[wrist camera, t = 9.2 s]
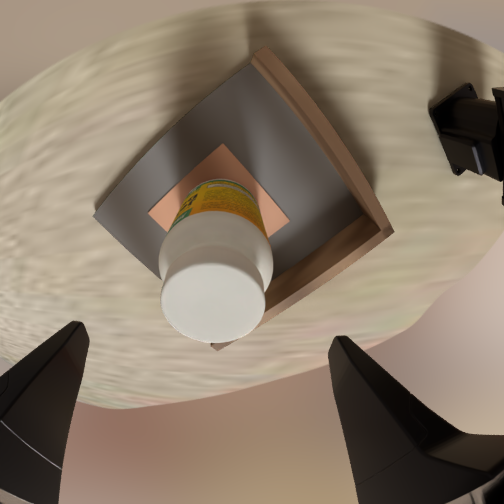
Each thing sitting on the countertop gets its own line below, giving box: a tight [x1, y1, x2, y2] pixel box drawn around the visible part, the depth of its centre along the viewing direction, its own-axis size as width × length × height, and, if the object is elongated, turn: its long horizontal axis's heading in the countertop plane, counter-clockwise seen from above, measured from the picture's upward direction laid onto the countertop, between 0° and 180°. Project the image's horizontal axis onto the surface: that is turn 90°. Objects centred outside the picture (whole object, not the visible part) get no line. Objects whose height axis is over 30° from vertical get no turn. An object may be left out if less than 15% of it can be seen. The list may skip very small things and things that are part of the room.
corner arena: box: [93, 46, 394, 351], centre depth 17 cm, size 16×14×4 cm
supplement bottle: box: [159, 179, 273, 343], centre depth 14 cm, size 5×5×10 cm
